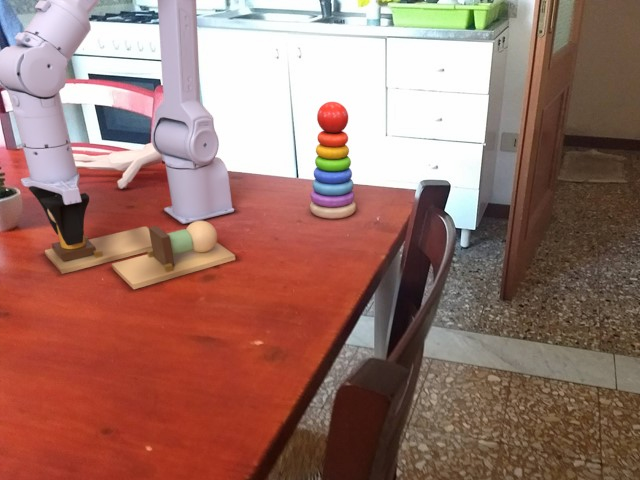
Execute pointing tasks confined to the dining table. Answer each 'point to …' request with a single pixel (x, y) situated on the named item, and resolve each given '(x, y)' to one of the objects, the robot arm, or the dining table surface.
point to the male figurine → (121, 162)
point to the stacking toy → (332, 166)
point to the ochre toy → (72, 247)
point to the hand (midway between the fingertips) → (69, 237)
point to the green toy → (182, 241)
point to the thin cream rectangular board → (169, 266)
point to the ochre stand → (107, 249)
